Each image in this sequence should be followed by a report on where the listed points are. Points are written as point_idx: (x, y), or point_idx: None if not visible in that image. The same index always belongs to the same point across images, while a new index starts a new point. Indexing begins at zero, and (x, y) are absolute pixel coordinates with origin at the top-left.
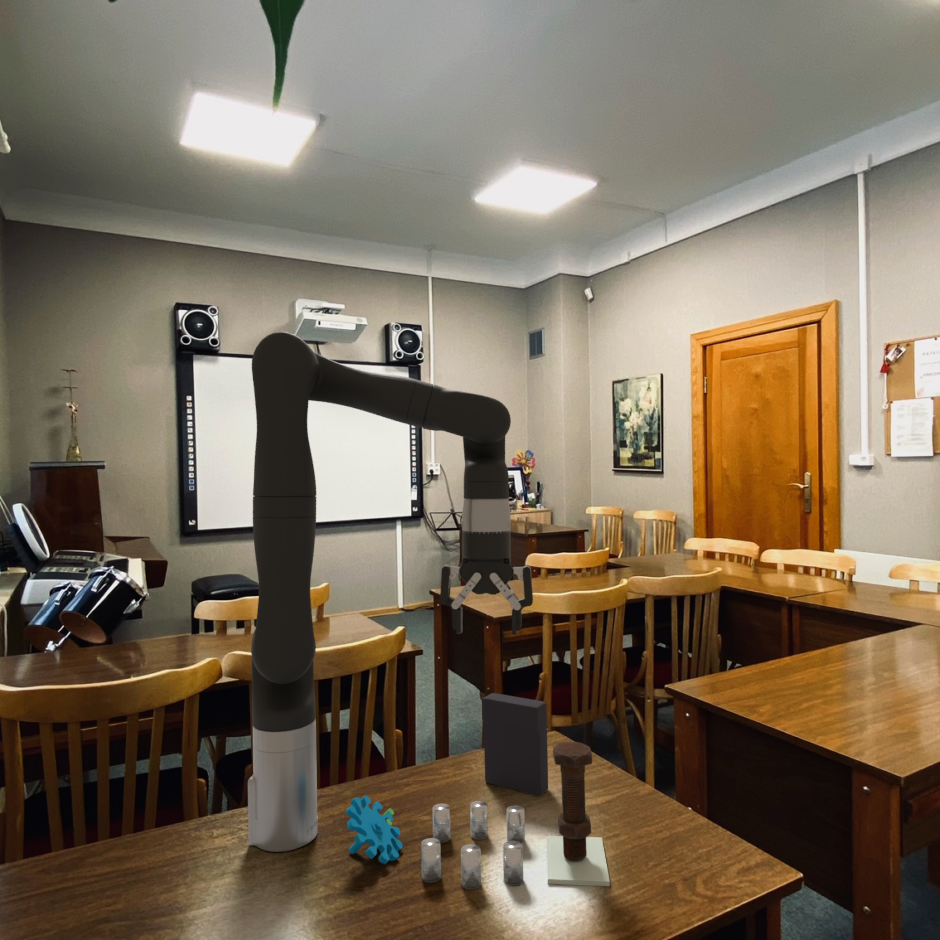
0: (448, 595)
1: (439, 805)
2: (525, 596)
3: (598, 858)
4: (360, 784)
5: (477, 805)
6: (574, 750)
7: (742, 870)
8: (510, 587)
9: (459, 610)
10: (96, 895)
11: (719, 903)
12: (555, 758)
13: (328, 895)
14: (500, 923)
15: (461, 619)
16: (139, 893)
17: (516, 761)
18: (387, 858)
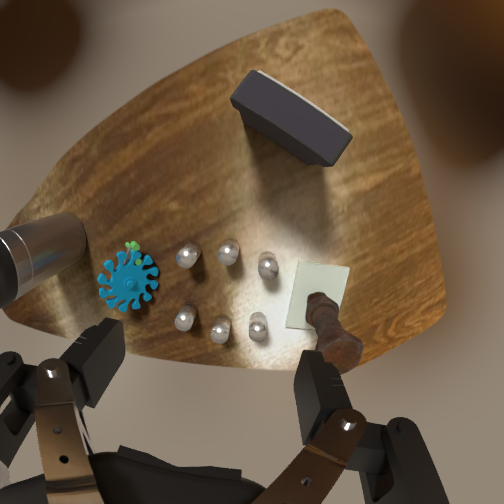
0: (12, 385)
1: (183, 253)
2: (366, 487)
3: (335, 301)
4: (103, 130)
5: (225, 257)
6: (340, 362)
7: (426, 309)
8: (332, 486)
9: (90, 406)
10: None
11: (392, 344)
12: None
13: (121, 320)
14: (243, 361)
15: (106, 368)
16: (29, 299)
17: (284, 143)
18: (149, 298)
